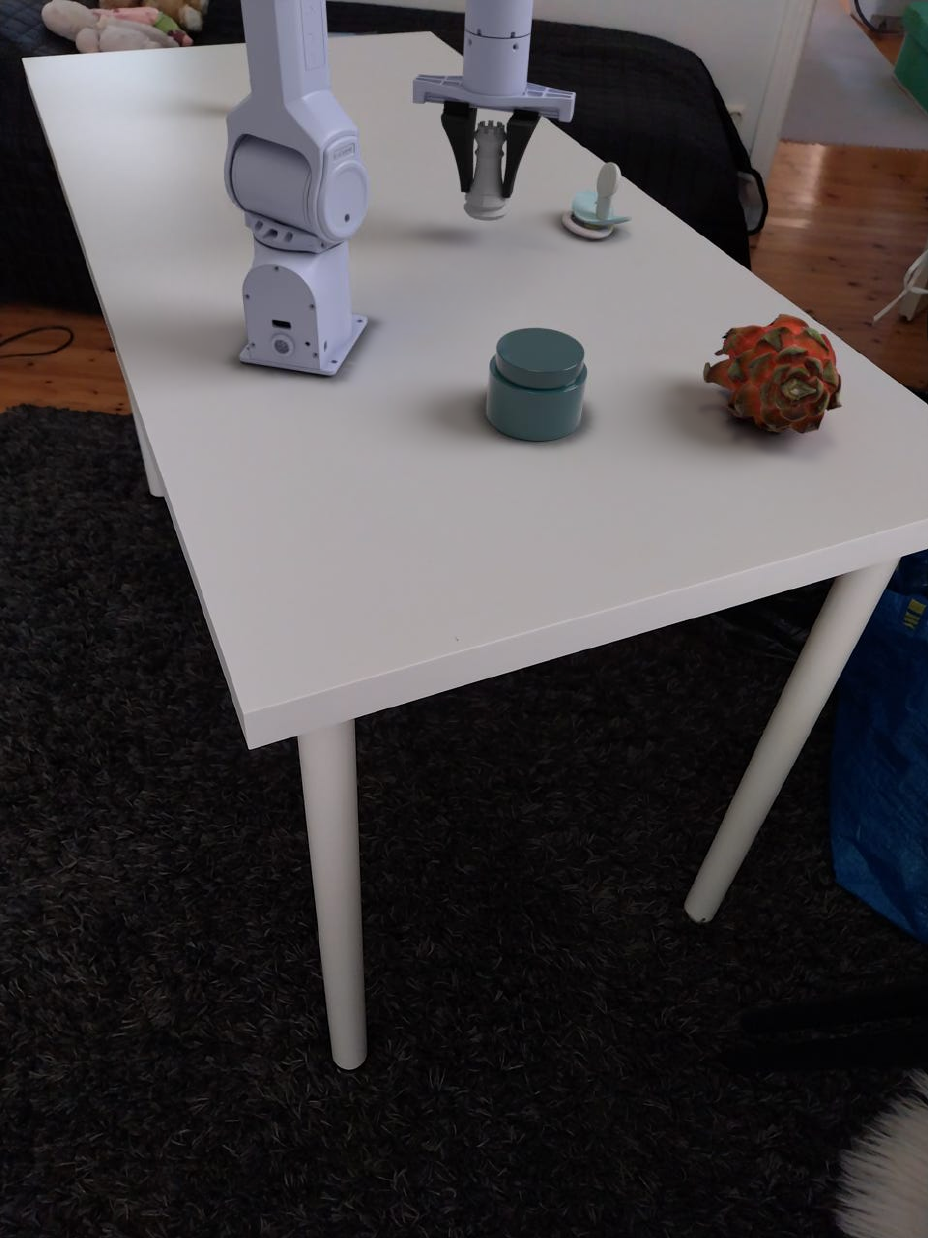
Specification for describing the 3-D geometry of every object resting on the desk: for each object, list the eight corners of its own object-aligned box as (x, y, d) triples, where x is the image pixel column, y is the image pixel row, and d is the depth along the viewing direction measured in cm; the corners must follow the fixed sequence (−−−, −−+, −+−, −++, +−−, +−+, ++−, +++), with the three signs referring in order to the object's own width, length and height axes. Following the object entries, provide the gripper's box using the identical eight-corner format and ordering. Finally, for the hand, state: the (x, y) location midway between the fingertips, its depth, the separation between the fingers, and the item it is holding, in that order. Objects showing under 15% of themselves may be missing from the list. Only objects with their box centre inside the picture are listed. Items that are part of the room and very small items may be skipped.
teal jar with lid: (573, 448, 70) (583, 381, 66) (477, 432, 71) (481, 365, 67) (586, 397, 75) (596, 332, 71) (496, 383, 76) (501, 318, 72)
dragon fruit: (797, 483, 71) (709, 418, 80) (890, 405, 70) (791, 348, 79) (755, 407, 65) (666, 346, 75) (856, 321, 64) (753, 270, 73)
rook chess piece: (504, 224, 92) (511, 135, 86) (458, 218, 92) (462, 129, 87) (512, 206, 95) (519, 119, 89) (467, 201, 95) (472, 114, 90)
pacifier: (585, 248, 95) (636, 237, 97) (592, 183, 91) (646, 173, 93) (549, 219, 100) (599, 210, 102) (554, 156, 95) (606, 147, 97)
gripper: (587, 27, 85) (568, 186, 94) (427, 9, 86) (424, 167, 96) (576, 48, 80) (557, 213, 89) (406, 28, 81) (406, 193, 91)
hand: (487, 191), depth 92 cm, fingers closed on rook chess piece, 3 cm apart
